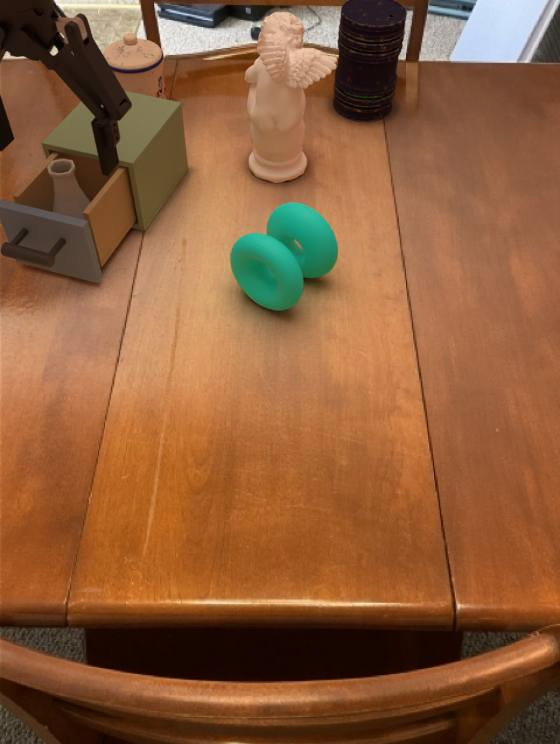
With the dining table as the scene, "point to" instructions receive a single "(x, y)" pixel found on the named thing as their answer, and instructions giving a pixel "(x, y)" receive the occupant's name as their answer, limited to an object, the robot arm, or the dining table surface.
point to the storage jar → (368, 58)
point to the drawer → (69, 220)
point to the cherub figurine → (281, 96)
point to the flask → (67, 189)
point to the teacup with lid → (137, 65)
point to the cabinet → (134, 148)
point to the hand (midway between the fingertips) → (57, 156)
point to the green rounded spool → (284, 256)
